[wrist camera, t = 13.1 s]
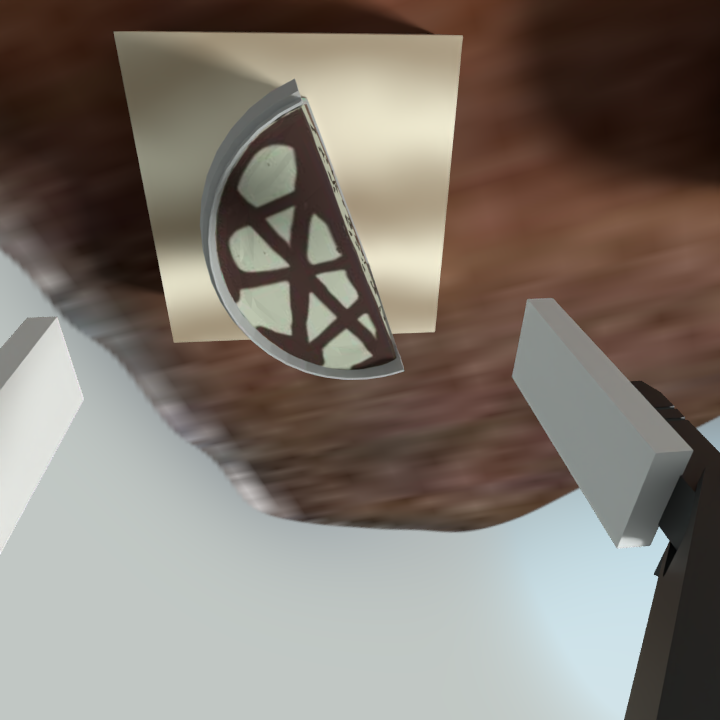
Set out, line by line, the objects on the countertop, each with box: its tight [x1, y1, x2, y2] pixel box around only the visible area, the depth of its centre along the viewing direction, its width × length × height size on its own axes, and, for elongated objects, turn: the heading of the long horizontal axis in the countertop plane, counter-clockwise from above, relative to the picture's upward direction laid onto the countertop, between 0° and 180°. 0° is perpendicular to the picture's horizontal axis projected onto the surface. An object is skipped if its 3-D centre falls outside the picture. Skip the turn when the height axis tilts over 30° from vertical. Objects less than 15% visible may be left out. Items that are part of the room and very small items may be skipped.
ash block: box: [114, 31, 463, 342], centre depth 32 cm, size 16×16×6 cm
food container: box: [200, 79, 404, 380], centre depth 25 cm, size 12×6×10 cm, turn 20°
